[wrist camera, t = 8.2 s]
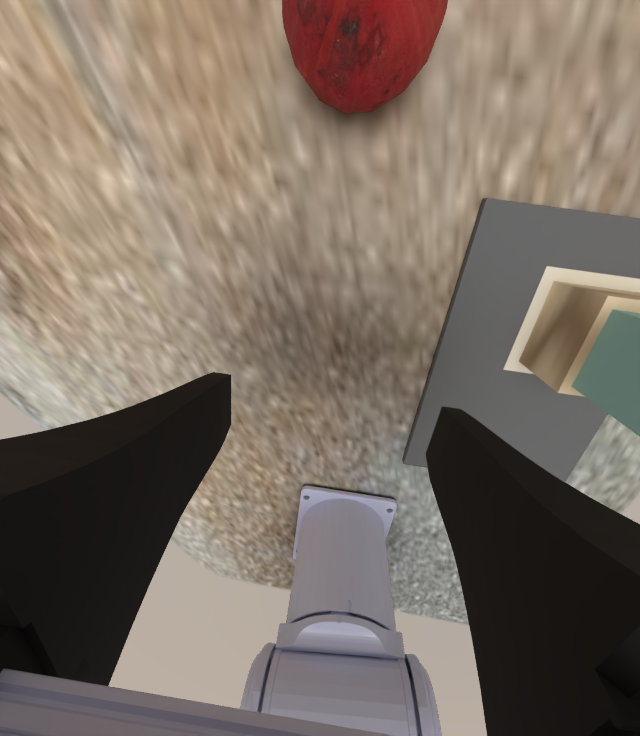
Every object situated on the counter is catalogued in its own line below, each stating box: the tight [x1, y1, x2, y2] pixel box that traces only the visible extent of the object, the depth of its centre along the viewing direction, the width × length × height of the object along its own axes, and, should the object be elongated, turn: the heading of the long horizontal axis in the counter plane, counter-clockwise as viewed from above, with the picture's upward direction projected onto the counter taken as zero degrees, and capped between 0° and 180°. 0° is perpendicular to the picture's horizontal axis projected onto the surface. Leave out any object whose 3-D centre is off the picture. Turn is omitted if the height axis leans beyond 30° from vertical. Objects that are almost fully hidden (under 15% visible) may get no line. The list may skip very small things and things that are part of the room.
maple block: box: [519, 281, 640, 397], centre depth 17 cm, size 5×5×4 cm
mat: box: [403, 198, 640, 482], centre depth 20 cm, size 18×12×1 cm, turn 173°
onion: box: [282, 0, 448, 113], centre depth 11 cm, size 6×6×8 cm
